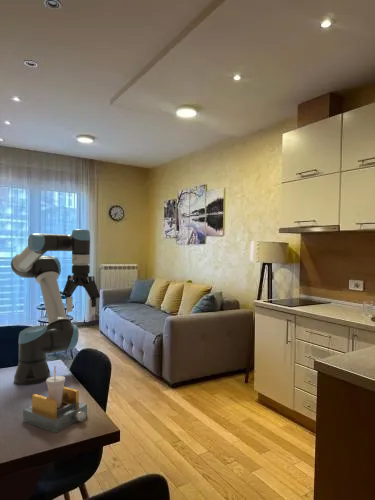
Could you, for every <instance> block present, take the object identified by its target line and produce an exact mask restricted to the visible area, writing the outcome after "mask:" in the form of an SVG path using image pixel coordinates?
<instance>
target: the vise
mask: <svg viewBox="0 0 375 500" xmlns="http://www.w3.org/2000/svg"><path fill="white" fill-rule="evenodd" d="M79 395H80V391H79V390H78V389H75V388H71V387H67V386H64V388H63V396H62V404H61V407H59V408H57V400H54V399H50V398H49V397H48V396H43V395H39V394H37V393H34V394H32V395H31V396H32V397H31V398H32V399H31V401H32V402H31V406H29V407H26V408H25V409H24V408H23V415H22V416H23V422H24V423H27V424H30V425H32V426H35V427H38V428H41V429H42V430H47V431H48V432H51V433H55V434H56V433H58V432H60V431H61V430H64V429H65V428H67V427H70V426H71V425H73V424H74V423H76V422H80V423H82V422H84V421H85V420H86V418H87V416H88V404H87V403H84V402H80V400H79V399H80V396H79Z"/></svg>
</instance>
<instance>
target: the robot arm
mask: <svg viewBox="0 0 375 500" xmlns="http://www.w3.org/2000/svg"><path fill="white" fill-rule="evenodd" d="M90 248H91V232H90V230H89V229H82V228H80V229H79V228H78V229H77V228H76V229H73V230H72V231H71V234H66V233H65V234H63V233H61V234H59V233H41V232H37V233H31V234H29V236H28V238H27V246H26V247H25V248H24V249H23V250H22V251H21V253H17V254H15V256H13V258H12V260H11V262H10V267H11V270H12V271H13V273H14V274H16V275H17V276H18V277H21V278H27V279H31V278H32V279H33V278H34V279H35V282H36V283H37V284H39V286H40V290H41V295H42V298H43V303H44V308H45V312H46V316H47V320H48V323H47V325H35V326H34V325H33V326H29V327H27V328H24V329H23V330H21V331H20V332H19V334H18V342H17V343H18V363H17V367H16V371H15V374H14V378H13V382H14V383H15V384H17V385H25V386H26V385H34V384H35V385H36V384H39V383H43V382H46V380H47V379H48V378H49V377H51V370H50V367H49V365H48V361H47V355H48V354H54V353H57V352H58V353H59V352H63V351H65V352H66V351H69V350H72V349H75V348H76V347H77V344H78V342H79V328H78V326H77V325H76V324H74V323H72V321H71V319H70V318H68V317H67V313H71V312H73V306H74V305H73V302H74V301H73V296H72V295H73V294H74V292H75V291H76V289H77V288H78V287H83V288H84V290H85V292H86V293H87V295H88V296H89V300H88V301H89V303H88V304H89V305H88V307H89V308H88V309H89V311H88V315H89V316H93V315H96V307H97V299H100V298H101V295H100V293H99V289H98V286H97V284H96V281H95V276H94V275H92V276H90V275H89V274H90V272H91V270H90V269H91V267H90V266H91V265H89V264H90V263H91V259H90V258H91V256H90V255H91V253H90V252H91V249H90ZM47 252H71V264H72V265H71V274H69V275H67V278H66V279H67V280H66V283H65V285H64V289H63V291H62V293H61V291H60V285H59V283H58V279H59V277H60V276H61V272H62V268H61V267H62V266H61V265H62V264H61V262H60V259H58V257H57V256H56V255H49V254H47V255H45V253H47ZM61 294H62V296H64V297H65V304H66V310H65V306H64V303H63V298H62V296H61Z"/></svg>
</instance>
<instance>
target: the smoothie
mask: <svg viewBox="0 0 375 500" xmlns="http://www.w3.org/2000/svg"><path fill="white" fill-rule="evenodd" d="M56 368H57V366H56V365H54V366H53V376H50V377H49V378H48V379H47V380H46V381H45V383H46V385H47V386H46V387H47V392H48V398H50V399H54V400H57V408H59V407H61V404H62V396H63V388H64V387H65V386H64V385H65V382H66V377H65V376H63V375H57V373H56V372H57V369H56Z"/></svg>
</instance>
